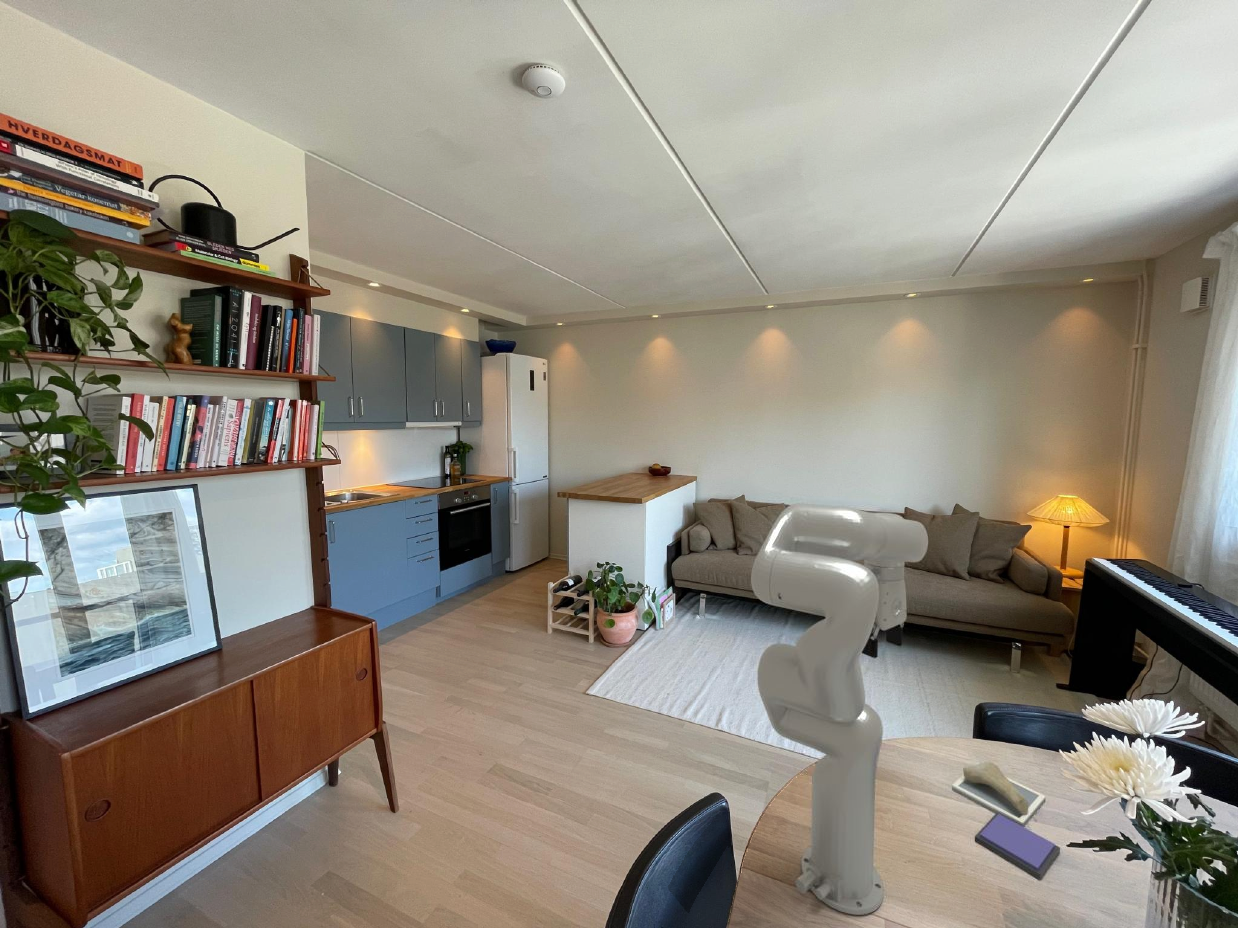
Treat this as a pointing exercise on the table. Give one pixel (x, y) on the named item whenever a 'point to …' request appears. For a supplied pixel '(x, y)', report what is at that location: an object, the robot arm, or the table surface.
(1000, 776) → the beige curved piece
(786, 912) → the table surface
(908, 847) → the table surface
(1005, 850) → the ink pad
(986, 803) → the white framed grey panel
